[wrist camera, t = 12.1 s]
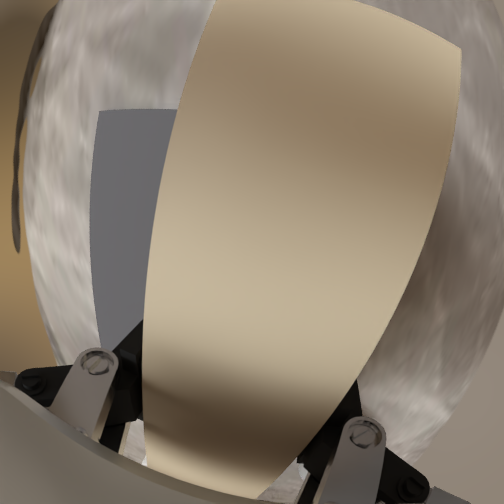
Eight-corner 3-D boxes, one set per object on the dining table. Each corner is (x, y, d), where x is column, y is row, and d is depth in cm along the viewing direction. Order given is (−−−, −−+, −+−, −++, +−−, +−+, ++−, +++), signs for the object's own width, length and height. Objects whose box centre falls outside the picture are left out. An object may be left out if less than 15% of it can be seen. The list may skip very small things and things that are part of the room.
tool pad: (106, 112, 20) (99, 111, 19) (192, 112, 19) (187, 110, 18) (106, 344, 29) (101, 349, 28) (170, 371, 28) (167, 377, 27)
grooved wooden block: (266, 74, 9) (225, -19, 3) (381, 107, 8) (461, 49, 3) (185, 426, 15) (151, 495, 9) (249, 447, 15) (229, 520, 9)
